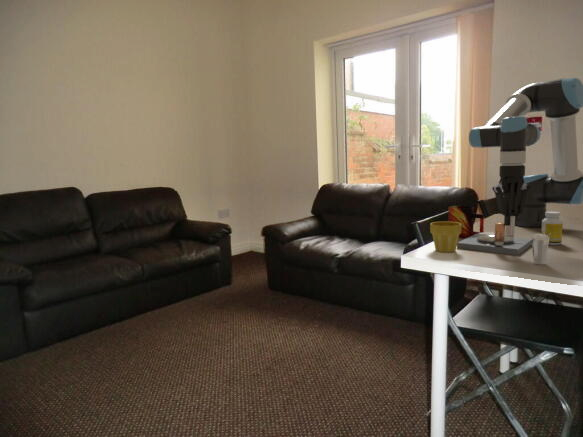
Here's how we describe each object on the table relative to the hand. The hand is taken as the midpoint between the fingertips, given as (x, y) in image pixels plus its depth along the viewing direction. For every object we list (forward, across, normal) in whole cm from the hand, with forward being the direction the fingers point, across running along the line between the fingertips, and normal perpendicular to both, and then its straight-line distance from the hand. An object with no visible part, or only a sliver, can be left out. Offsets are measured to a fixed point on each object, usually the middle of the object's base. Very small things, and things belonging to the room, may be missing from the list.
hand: (509, 234), depth 143 cm
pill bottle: (+7, -23, -8) cm, 25 cm away
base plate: (+6, -2, -10) cm, 11 cm away
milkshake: (+6, +2, +16) cm, 17 cm away
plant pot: (+6, +18, -9) cm, 22 cm away
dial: (+4, 0, -7) cm, 8 cm away
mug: (+7, -3, -30) cm, 31 cm away
